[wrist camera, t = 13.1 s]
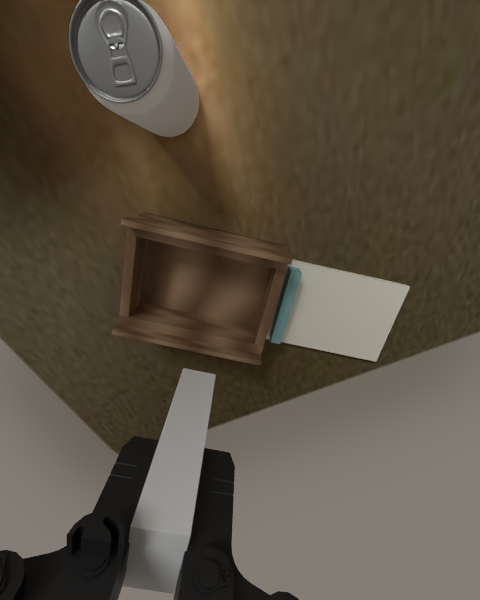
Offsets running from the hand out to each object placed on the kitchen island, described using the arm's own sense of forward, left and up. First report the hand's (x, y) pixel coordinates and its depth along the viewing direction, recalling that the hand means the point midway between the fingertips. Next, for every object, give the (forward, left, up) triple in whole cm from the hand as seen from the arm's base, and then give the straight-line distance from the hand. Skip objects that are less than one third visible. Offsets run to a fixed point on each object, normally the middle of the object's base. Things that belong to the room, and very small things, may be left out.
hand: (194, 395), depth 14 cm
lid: (+14, -2, -23) cm, 27 cm away
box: (-2, -2, -23) cm, 23 cm away
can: (-9, +15, -23) cm, 29 cm away
